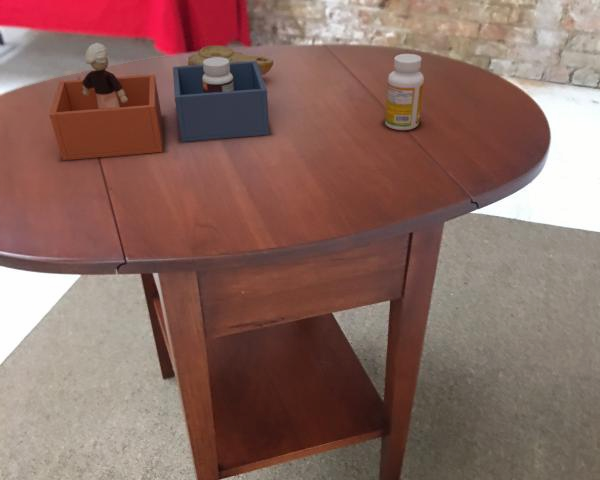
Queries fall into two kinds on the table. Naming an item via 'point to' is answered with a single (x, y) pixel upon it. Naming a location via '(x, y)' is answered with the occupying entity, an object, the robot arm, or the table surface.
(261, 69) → the oil lamp
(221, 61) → the pill bottle
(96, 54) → the grandmother figurine
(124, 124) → the terracotta bin
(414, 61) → the supplement bottle
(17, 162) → the table surface
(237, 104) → the slate bin
